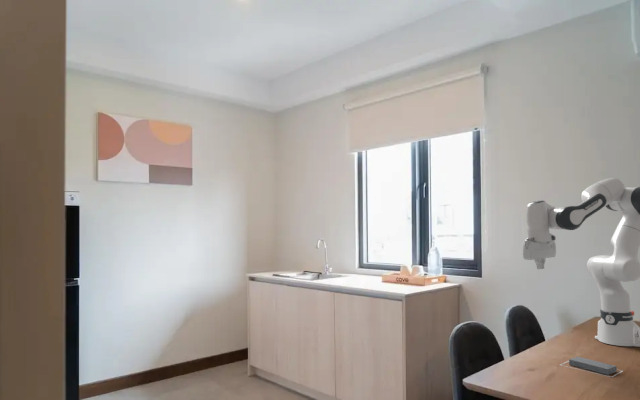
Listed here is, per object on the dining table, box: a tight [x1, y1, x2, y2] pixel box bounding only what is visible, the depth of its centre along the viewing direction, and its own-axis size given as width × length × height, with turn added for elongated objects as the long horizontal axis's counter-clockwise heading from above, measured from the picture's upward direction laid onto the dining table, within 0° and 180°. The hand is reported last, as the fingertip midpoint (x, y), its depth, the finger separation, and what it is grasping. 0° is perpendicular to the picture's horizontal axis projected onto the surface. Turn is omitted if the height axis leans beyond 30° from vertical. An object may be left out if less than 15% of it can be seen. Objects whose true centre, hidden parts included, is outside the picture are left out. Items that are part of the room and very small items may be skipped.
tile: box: [568, 356, 618, 376], centre depth 165 cm, size 6×2×14 cm
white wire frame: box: [559, 360, 624, 378], centre depth 165 cm, size 11×1×18 cm
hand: (540, 268), depth 193 cm, fingers closed
